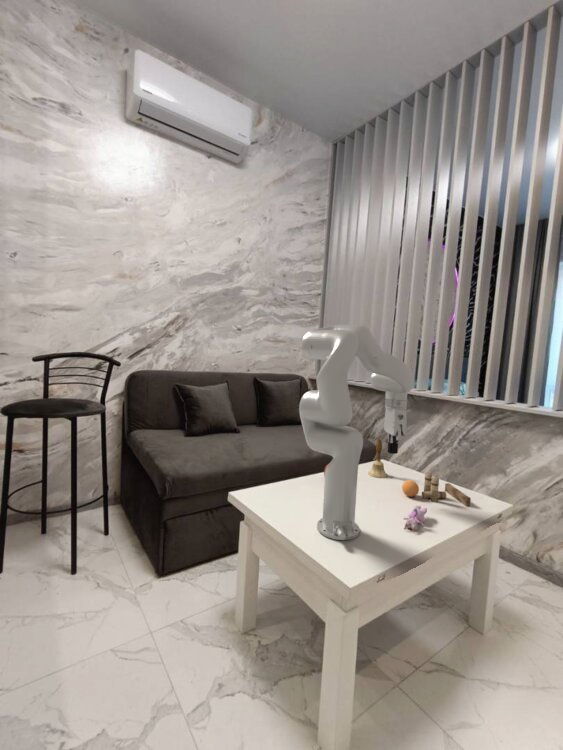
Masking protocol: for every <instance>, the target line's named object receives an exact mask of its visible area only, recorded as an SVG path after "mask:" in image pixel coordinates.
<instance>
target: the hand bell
mask: <svg viewBox="0 0 563 750" xmlns="http://www.w3.org/2000/svg"><path fill="white" fill-rule="evenodd" d="M382 448H383V443H382V439H380V438H378V439H377V441H376V443H375V449H376V450H375V451H376V460H375V461H373V462H372V467H371V469H370V470H369V471H368V473H367V474H368V475H369V476H370V477H371V478H372V477H373V478H377V479H385V477H386V478H387V477H388V473H386V470H385V468H384V462H382V461H381V452H382V451H383V450H382Z"/></svg>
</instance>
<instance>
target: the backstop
mask: <svg viewBox="0 0 563 750" xmlns="http://www.w3.org/2000/svg"><path fill="white" fill-rule="evenodd" d="M444 486H445V487H444V492H446V494H448V495H450V496H451V497H453V498H454V499H455V500H456V501H458V502H460V503H461V504H462V505H463V506H465V507H471V499H472V498H471V497H470V496H468V495H467V494H466V493H464V492H462V491H461V490H459V489H458V488H456V487H455V486H453V485H452V484H451V483H445V485H444Z"/></svg>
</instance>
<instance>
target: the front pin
mask: <svg viewBox="0 0 563 750" xmlns="http://www.w3.org/2000/svg"><path fill="white" fill-rule="evenodd" d="M421 498H422V499H430V498H431V492H424V491H421ZM438 499H447V492H446V491H440V490H438Z"/></svg>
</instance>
